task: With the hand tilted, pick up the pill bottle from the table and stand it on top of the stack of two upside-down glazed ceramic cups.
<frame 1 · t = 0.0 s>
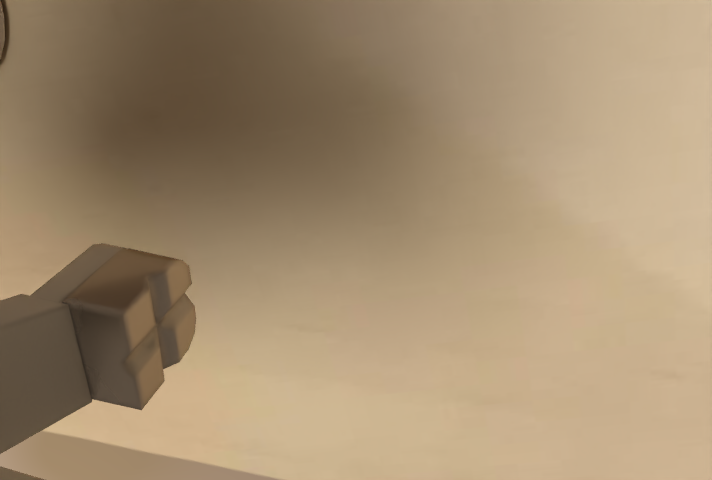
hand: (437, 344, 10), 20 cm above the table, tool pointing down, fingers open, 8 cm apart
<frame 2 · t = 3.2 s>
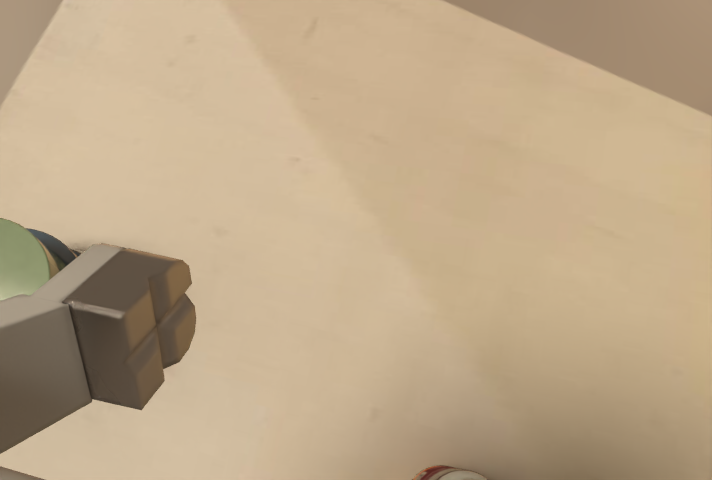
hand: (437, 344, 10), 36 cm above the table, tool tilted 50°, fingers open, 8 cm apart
cup stack: (40, 312, 44), on the table
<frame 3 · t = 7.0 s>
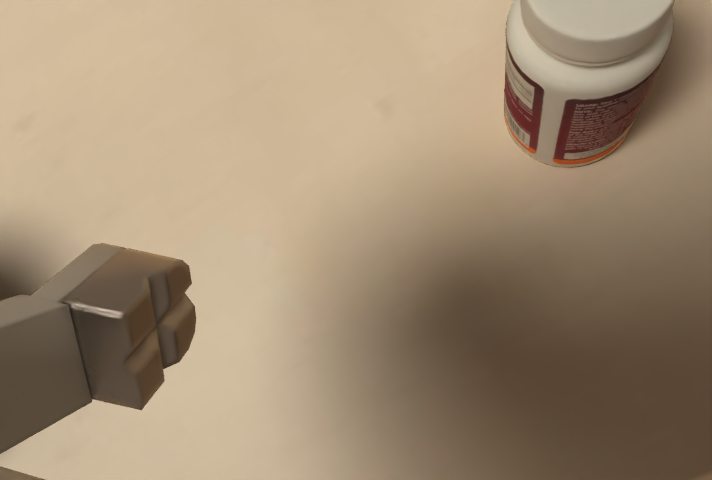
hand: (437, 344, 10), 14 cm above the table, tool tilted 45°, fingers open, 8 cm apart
pill bottle: (565, 113, 26), on the table
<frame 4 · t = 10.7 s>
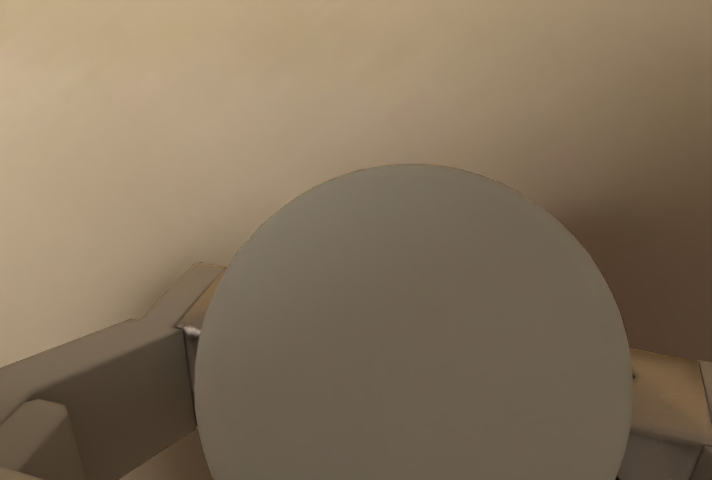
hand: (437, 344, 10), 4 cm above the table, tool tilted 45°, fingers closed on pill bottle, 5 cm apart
pill bottle: (448, 397, 14), on the table, touching gripper
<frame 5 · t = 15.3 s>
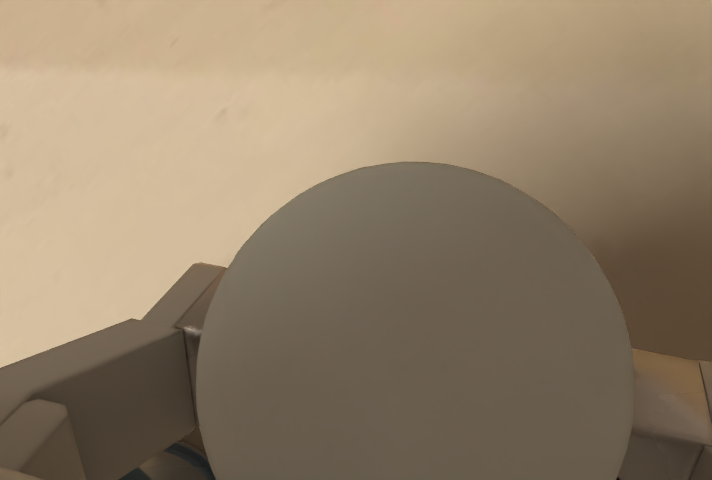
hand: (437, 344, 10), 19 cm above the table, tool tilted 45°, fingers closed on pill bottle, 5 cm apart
pill bottle: (449, 396, 14), point 14 cm above the table, touching gripper
when the fingers open (14 cm above the table, at t = 19.7 s): pill bottle stays where it is, resting on cup stack.
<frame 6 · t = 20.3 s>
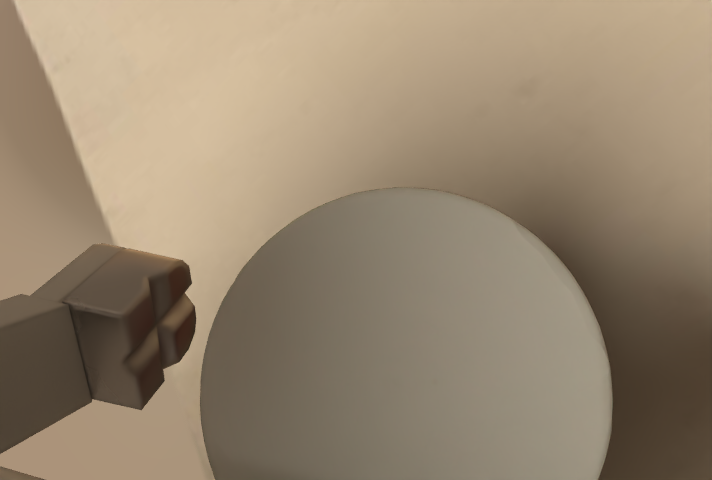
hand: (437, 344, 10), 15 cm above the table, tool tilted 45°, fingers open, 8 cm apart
pill bottle: (440, 401, 15), point 10 cm above the table, touching cup stack
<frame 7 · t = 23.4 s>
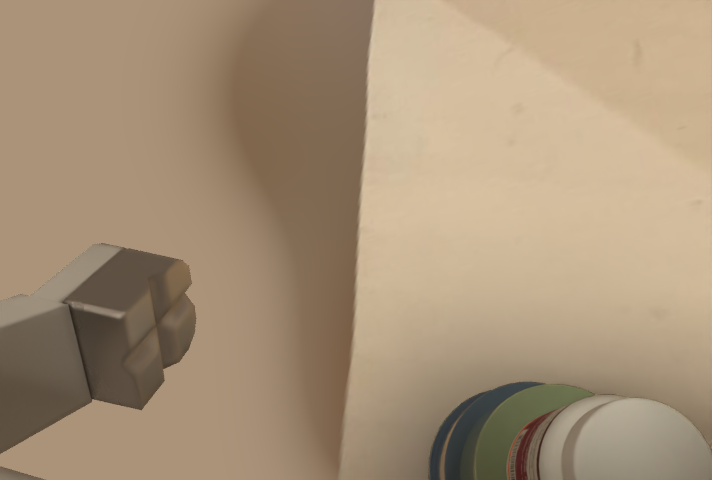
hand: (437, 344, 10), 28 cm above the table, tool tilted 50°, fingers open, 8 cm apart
pill bottle: (562, 472, 27), point 10 cm above the table, touching cup stack
cup stack: (511, 474, 36), on the table
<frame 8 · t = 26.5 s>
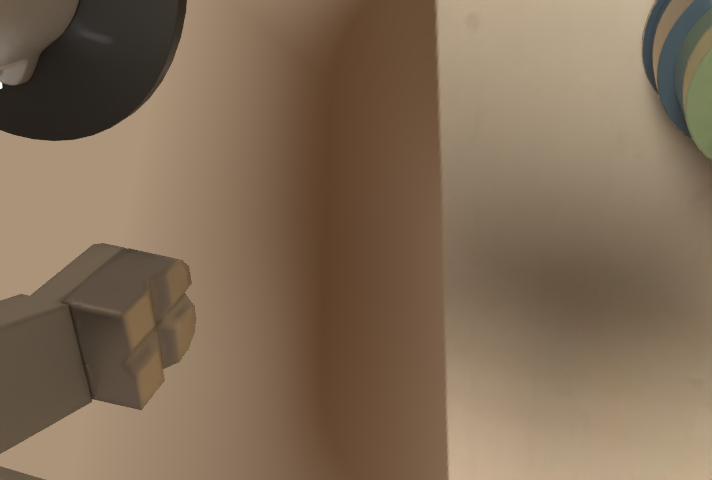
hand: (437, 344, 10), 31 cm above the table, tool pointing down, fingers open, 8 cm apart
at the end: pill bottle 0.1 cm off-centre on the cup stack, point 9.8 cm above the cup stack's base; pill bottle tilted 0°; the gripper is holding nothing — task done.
